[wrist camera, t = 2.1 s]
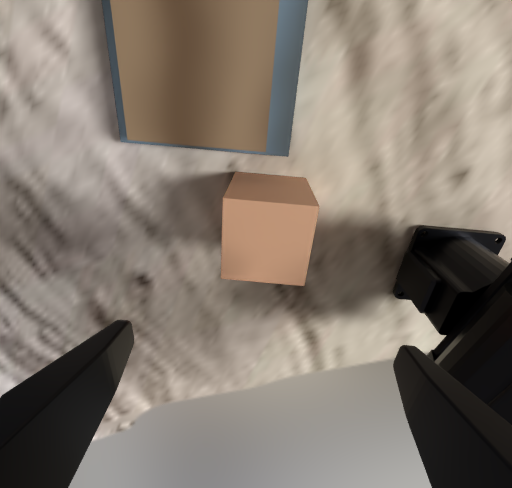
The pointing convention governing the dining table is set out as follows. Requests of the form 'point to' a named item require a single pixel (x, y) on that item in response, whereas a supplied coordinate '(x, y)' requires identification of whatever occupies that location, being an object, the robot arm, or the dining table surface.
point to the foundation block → (206, 72)
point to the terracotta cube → (267, 228)
